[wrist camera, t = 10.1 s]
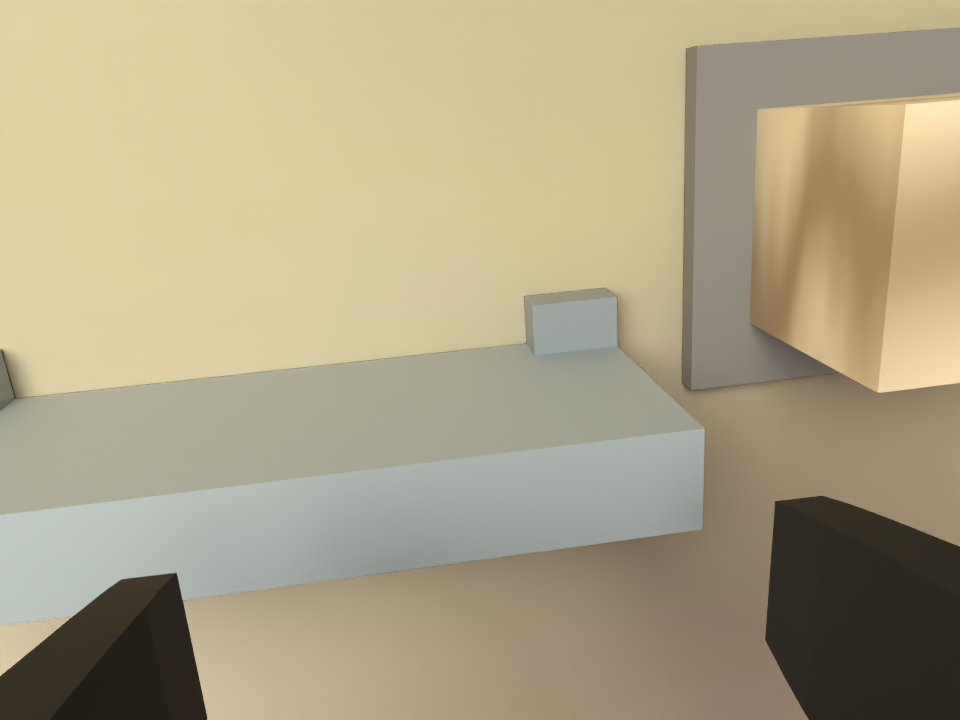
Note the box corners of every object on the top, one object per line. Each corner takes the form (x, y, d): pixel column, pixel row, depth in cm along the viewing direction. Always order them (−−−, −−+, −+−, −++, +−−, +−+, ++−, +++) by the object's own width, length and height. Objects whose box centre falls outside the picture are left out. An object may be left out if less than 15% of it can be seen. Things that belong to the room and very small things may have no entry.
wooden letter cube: (941, 301, 19) (1130, 361, 14) (749, 322, 18) (878, 392, 14) (967, 91, 17) (1188, 80, 13) (757, 108, 17) (906, 104, 12)
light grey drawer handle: (607, 451, 20) (701, 585, 14) (-37, 531, 18) (-227, 720, 12) (604, 287, 18) (706, 363, 13) (-94, 358, 17) (-338, 481, 11)
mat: (968, 349, 20) (985, 355, 20) (681, 382, 19) (691, 390, 19) (1013, 25, 18) (1034, 22, 17) (686, 48, 17) (697, 46, 16)
